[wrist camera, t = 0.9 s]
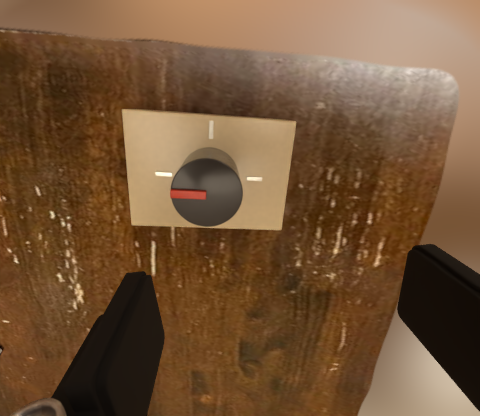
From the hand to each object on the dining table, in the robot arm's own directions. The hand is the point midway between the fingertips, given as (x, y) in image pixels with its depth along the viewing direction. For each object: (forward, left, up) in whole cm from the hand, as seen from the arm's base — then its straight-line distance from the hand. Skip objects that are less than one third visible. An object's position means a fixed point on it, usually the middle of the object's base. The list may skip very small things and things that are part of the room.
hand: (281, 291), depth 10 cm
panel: (+3, -1, -18) cm, 18 cm away
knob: (+3, -1, -15) cm, 15 cm away
